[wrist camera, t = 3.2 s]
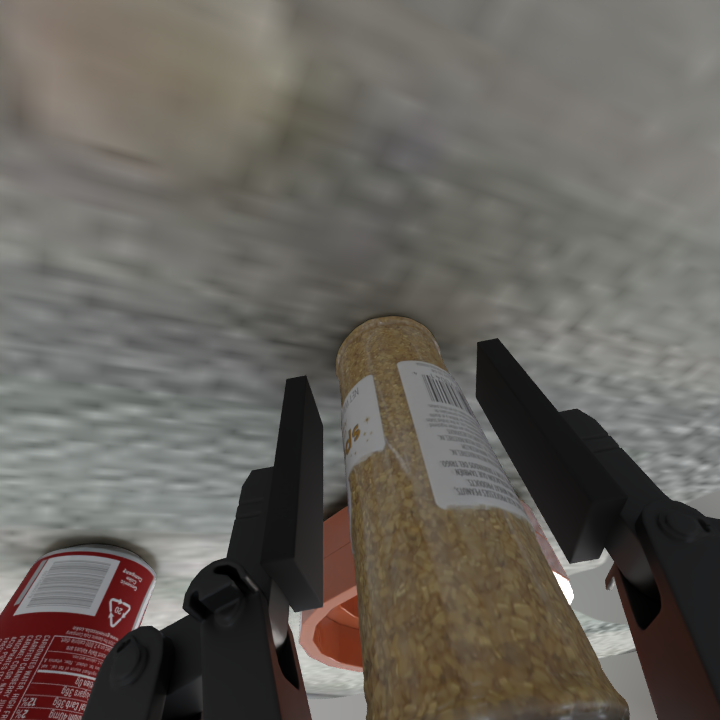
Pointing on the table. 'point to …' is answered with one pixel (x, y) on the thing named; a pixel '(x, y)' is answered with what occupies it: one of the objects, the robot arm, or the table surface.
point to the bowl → (340, 600)
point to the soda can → (67, 628)
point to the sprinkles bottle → (449, 553)
